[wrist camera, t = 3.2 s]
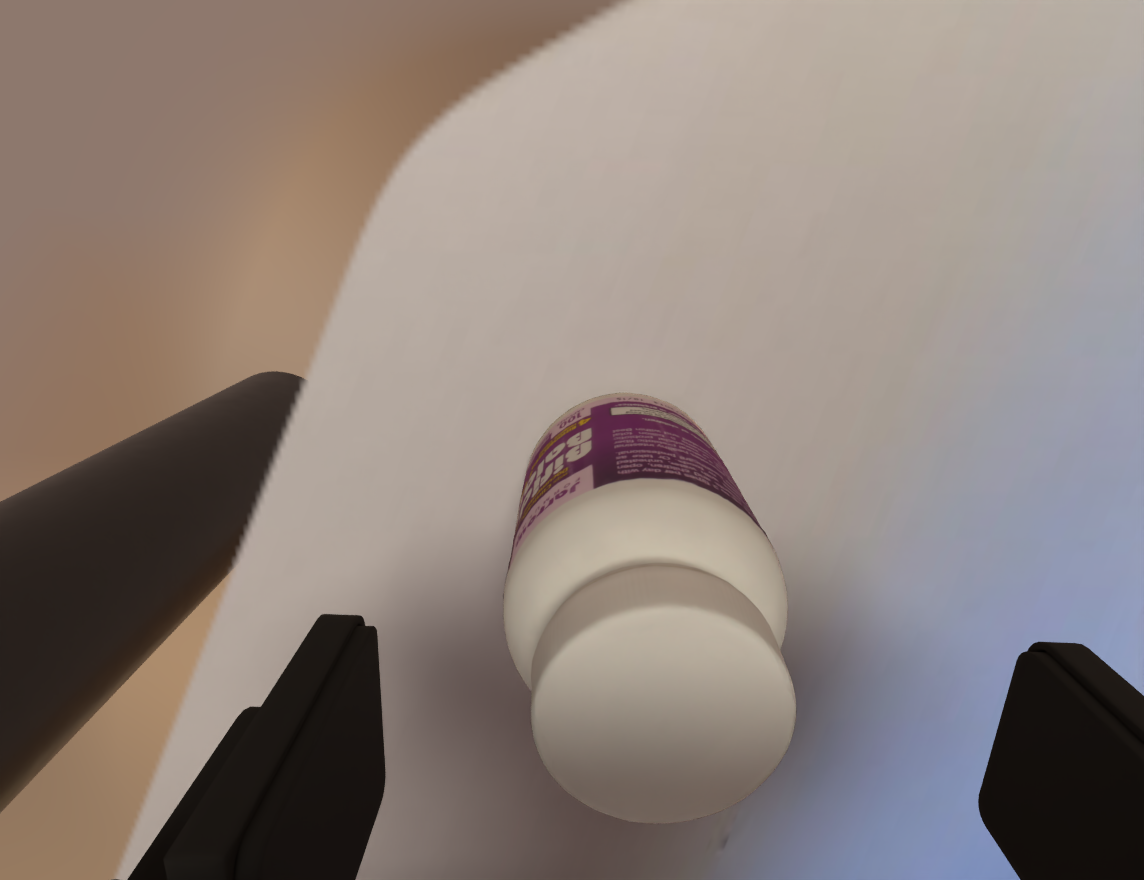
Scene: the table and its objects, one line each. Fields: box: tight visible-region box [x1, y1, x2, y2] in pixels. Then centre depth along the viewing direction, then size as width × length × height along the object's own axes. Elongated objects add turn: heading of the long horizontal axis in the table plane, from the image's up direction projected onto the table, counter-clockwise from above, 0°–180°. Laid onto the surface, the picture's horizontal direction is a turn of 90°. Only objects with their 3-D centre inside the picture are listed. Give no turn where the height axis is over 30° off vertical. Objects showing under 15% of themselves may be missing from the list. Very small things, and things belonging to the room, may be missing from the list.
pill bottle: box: [503, 393, 796, 824], centre depth 15 cm, size 5×5×10 cm
